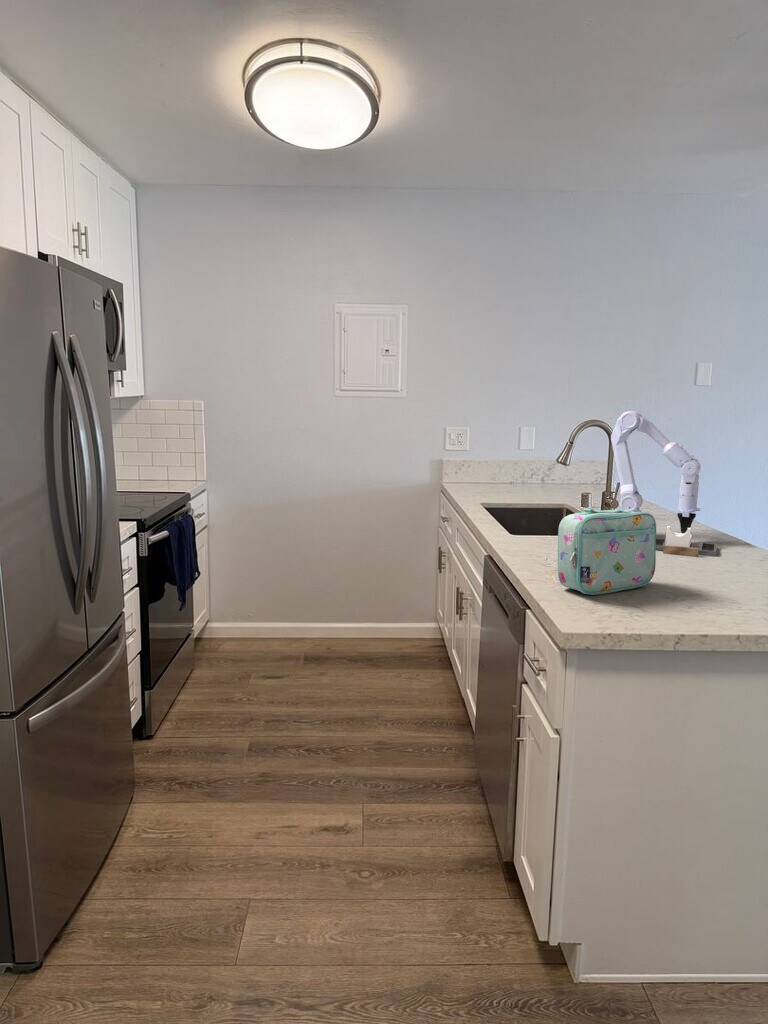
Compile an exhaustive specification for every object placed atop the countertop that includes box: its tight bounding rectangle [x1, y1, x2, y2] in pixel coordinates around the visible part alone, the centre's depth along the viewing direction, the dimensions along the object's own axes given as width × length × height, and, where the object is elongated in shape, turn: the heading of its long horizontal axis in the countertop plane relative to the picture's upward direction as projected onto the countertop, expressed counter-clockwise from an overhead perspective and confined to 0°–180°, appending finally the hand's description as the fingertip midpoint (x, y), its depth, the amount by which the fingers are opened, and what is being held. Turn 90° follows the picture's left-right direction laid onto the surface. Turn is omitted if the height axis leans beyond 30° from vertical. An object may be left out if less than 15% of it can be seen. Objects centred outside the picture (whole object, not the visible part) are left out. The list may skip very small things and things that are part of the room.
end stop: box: [662, 545, 699, 558], centre depth 210 cm, size 10×2×2 cm, turn 63°
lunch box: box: [557, 507, 657, 596], centre depth 172 cm, size 27×10×21 cm, turn 114°
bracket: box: [665, 525, 693, 547], centre depth 221 cm, size 13×7×8 cm, turn 153°
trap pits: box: [656, 537, 718, 557], centre depth 218 cm, size 20×12×2 cm, turn 63°
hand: (684, 534), depth 227 cm, fingers closed
